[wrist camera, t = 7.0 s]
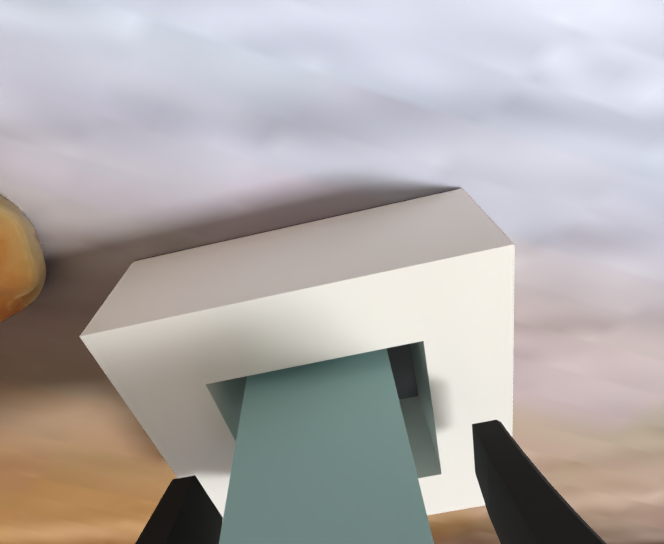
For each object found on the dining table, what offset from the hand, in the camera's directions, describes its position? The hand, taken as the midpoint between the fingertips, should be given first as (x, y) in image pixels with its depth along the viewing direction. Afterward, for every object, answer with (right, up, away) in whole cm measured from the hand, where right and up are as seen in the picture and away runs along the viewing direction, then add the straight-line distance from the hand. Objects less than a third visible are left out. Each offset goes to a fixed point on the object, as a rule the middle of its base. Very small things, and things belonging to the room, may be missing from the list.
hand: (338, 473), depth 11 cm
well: (0, +2, +4) cm, 5 cm away
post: (0, +3, +4) cm, 4 cm away
